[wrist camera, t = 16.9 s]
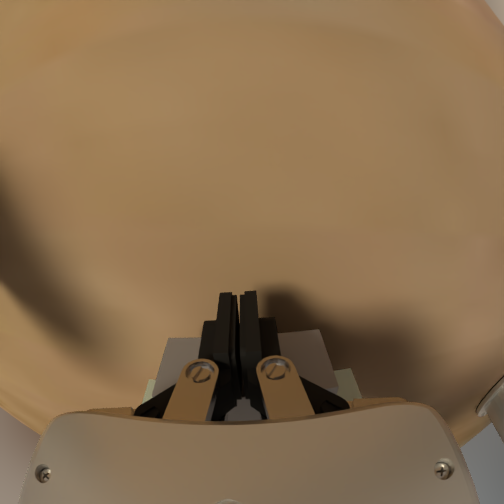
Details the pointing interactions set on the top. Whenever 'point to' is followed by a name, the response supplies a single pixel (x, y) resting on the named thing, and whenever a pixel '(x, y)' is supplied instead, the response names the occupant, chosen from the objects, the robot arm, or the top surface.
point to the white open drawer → (291, 346)
